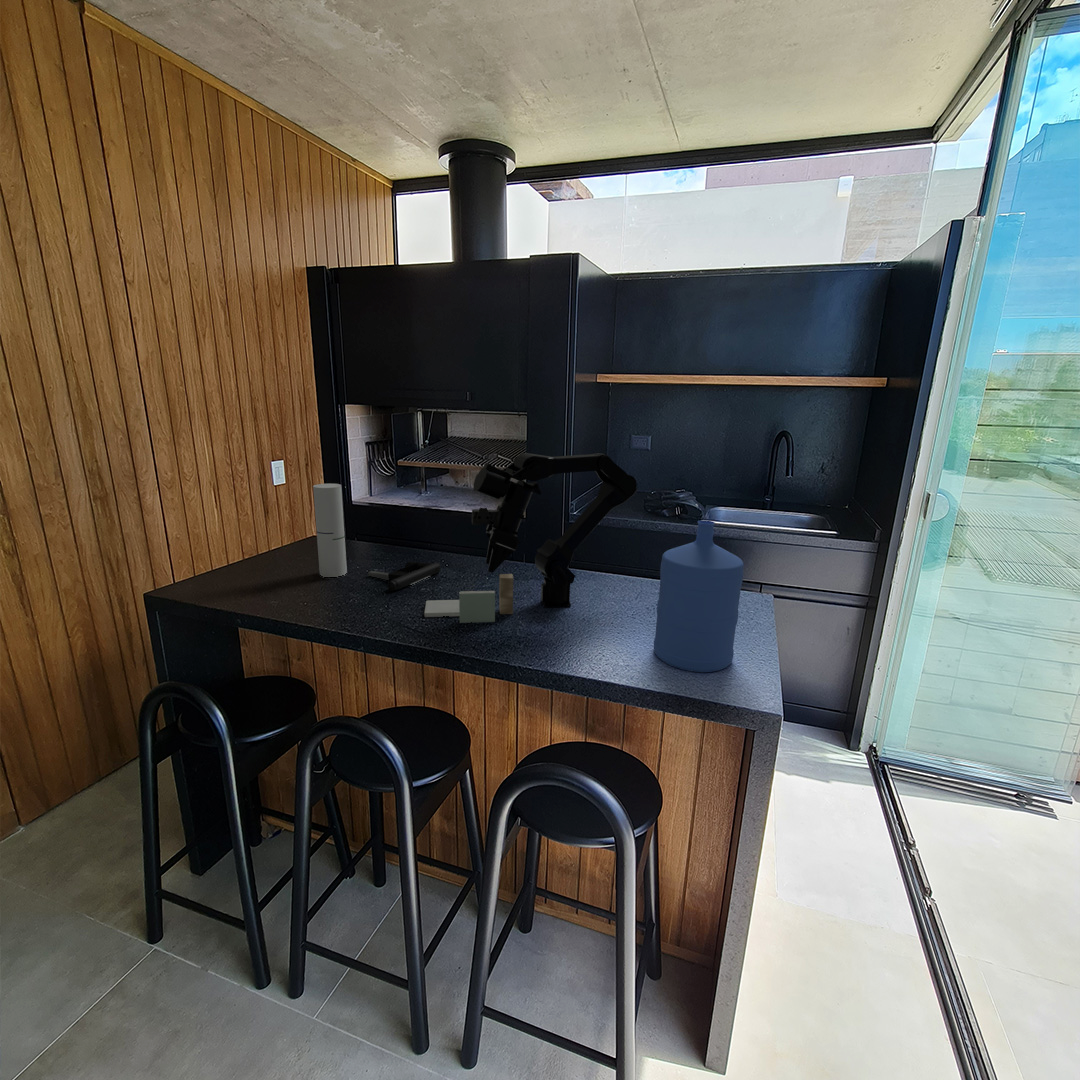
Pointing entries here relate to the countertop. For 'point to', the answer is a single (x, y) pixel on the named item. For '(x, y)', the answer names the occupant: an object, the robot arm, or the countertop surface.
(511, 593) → the stick
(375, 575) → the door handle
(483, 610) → the tile
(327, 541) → the cylindrical container
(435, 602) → the grey flat plate
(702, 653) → the water jug
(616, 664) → the countertop surface
